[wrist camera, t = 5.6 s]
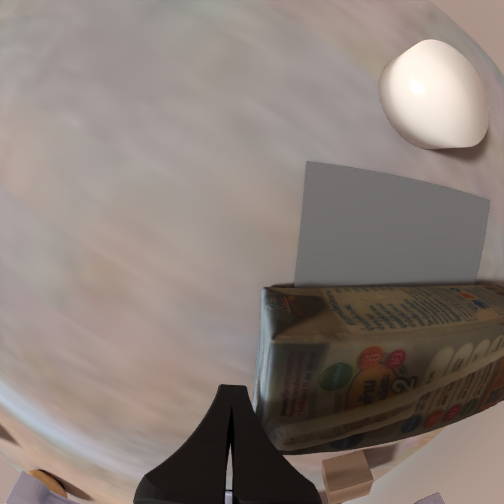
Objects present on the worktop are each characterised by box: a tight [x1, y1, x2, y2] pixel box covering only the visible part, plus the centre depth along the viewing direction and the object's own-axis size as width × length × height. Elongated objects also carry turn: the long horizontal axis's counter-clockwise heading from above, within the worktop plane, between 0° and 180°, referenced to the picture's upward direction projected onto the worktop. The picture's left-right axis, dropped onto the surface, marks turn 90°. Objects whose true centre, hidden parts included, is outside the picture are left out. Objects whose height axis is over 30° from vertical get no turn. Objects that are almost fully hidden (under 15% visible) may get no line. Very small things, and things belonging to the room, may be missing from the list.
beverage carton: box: [253, 285, 504, 455], centre depth 13 cm, size 8×19×7 cm, turn 87°
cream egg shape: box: [379, 40, 489, 149], centre depth 11 cm, size 6×6×4 cm
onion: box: [28, 470, 68, 498], centre depth 21 cm, size 8×8×7 cm
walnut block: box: [322, 450, 374, 504], centre depth 19 cm, size 4×4×4 cm
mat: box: [294, 161, 490, 288], centre depth 17 cm, size 22×14×1 cm, turn 176°
